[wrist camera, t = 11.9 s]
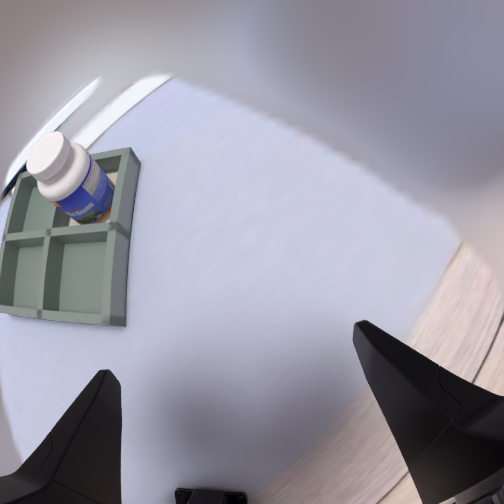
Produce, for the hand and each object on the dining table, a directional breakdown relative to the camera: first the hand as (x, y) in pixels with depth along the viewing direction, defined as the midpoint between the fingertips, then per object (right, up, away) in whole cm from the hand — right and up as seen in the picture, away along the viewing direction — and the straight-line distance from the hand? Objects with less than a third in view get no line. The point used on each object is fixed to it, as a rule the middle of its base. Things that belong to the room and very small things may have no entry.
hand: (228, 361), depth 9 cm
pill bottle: (-15, +9, +17) cm, 24 cm away
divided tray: (-19, +5, +16) cm, 25 cm away
